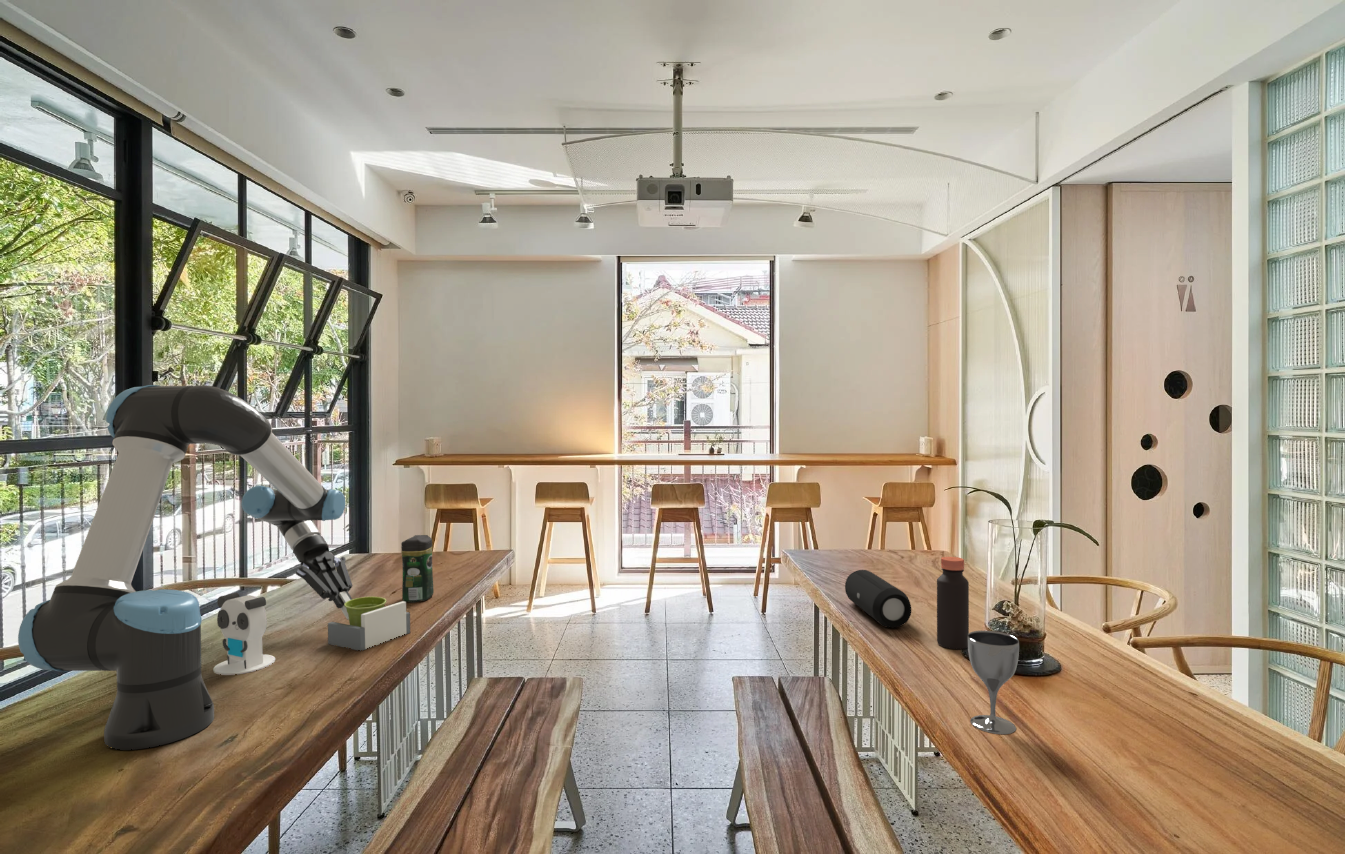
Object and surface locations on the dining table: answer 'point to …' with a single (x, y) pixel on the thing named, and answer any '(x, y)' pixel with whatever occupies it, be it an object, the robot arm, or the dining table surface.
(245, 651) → the panda figurine
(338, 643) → the box
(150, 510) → the robot arm
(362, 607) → the plant pot
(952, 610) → the bottle
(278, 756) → the dining table surface
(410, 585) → the coffee jar
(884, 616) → the portable speaker
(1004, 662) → the wine glass
